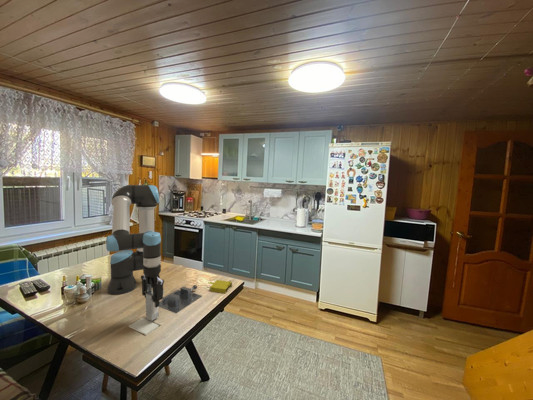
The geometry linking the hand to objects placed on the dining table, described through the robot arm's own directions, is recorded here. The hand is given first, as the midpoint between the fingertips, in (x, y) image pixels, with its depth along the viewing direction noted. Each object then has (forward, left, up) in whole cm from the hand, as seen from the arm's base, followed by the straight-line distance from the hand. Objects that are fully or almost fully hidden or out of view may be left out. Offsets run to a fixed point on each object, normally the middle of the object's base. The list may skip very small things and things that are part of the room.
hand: (152, 311), depth 110 cm
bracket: (+8, +41, -6) cm, 43 cm away
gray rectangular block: (0, +1, -3) cm, 3 cm away
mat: (0, 0, -5) cm, 5 cm away
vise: (-2, +21, -5) cm, 21 cm away
